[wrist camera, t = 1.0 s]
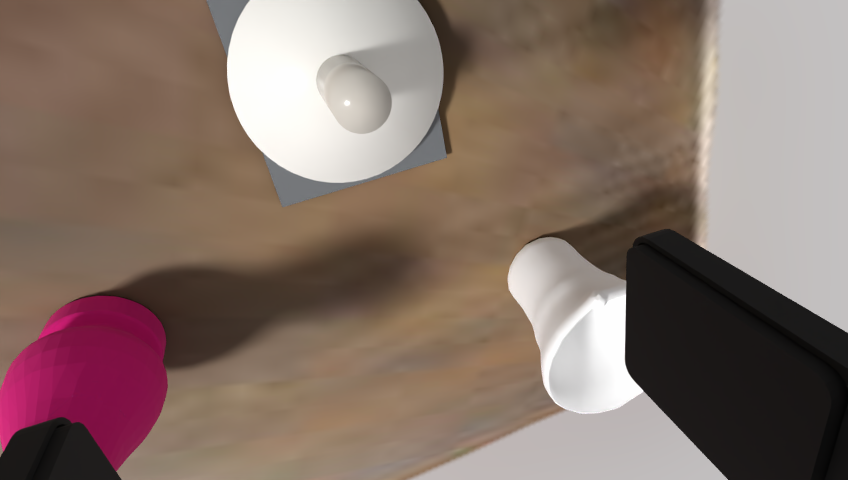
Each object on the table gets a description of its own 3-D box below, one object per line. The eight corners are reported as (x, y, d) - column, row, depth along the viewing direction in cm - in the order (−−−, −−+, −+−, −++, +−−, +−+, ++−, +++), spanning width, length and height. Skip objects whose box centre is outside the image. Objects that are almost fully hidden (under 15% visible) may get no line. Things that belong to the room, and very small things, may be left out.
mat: (197, -27, 24) (196, -27, 24) (403, -72, 26) (406, -73, 25) (282, 203, 30) (282, 207, 30) (444, 155, 32) (446, 157, 31)
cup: (575, 189, 36) (679, 258, 27) (598, 289, 41) (692, 373, 32) (461, 247, 35) (531, 336, 27) (498, 341, 40) (567, 442, 32)
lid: (190, -12, 24) (176, -6, 19) (417, -63, 26) (461, -70, 21) (270, 201, 29) (277, 251, 24) (453, 147, 31) (494, 182, 26)
